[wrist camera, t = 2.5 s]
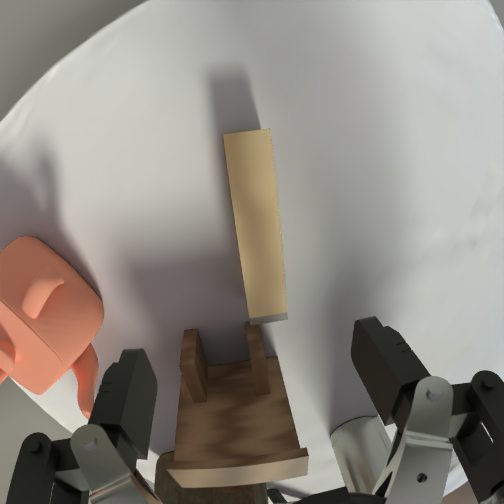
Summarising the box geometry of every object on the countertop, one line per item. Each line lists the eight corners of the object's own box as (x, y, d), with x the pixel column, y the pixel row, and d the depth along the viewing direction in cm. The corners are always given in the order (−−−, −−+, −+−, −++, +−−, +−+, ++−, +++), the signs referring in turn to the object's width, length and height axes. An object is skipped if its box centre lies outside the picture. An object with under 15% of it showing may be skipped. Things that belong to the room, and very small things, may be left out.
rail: (261, 130, 25) (270, 128, 21) (278, 292, 32) (287, 319, 27) (222, 134, 25) (222, 134, 21) (246, 297, 32) (250, 325, 27)
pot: (18, 339, 32) (-20, 396, 20) (-14, 226, 25) (-78, 268, 14) (127, 358, 34) (103, 436, 22) (107, 227, 27) (47, 287, 16)
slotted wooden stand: (278, 317, 33) (310, 425, 19) (283, 379, 37) (307, 475, 23) (165, 332, 32) (144, 441, 19) (187, 391, 36) (182, 487, 23)
